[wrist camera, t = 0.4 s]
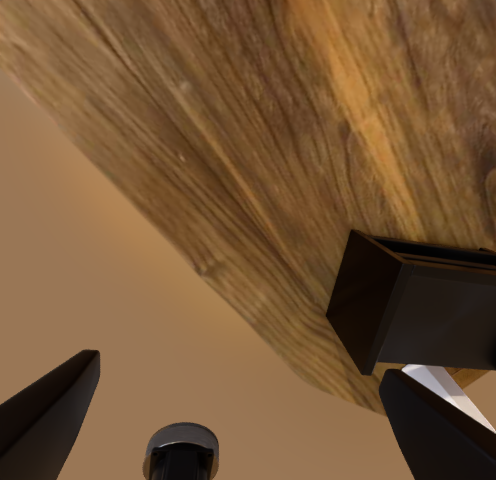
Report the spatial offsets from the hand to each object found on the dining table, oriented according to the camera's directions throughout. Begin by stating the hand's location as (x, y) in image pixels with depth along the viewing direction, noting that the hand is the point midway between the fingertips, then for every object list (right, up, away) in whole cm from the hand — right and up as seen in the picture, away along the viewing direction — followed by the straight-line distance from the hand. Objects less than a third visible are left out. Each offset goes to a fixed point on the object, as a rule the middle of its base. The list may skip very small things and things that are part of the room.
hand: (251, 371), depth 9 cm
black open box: (+15, 0, +18) cm, 24 cm away
